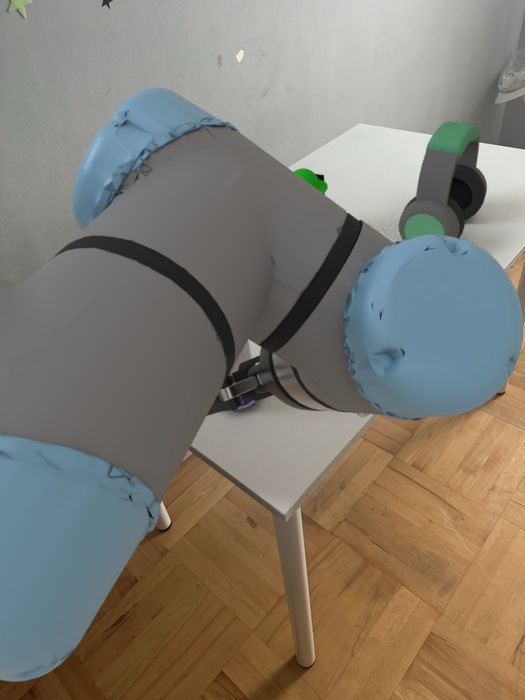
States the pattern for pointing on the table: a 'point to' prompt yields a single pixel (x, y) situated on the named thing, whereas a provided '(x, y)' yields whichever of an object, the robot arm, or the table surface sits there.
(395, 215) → the table surface
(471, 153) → the headphones
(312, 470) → the table surface
